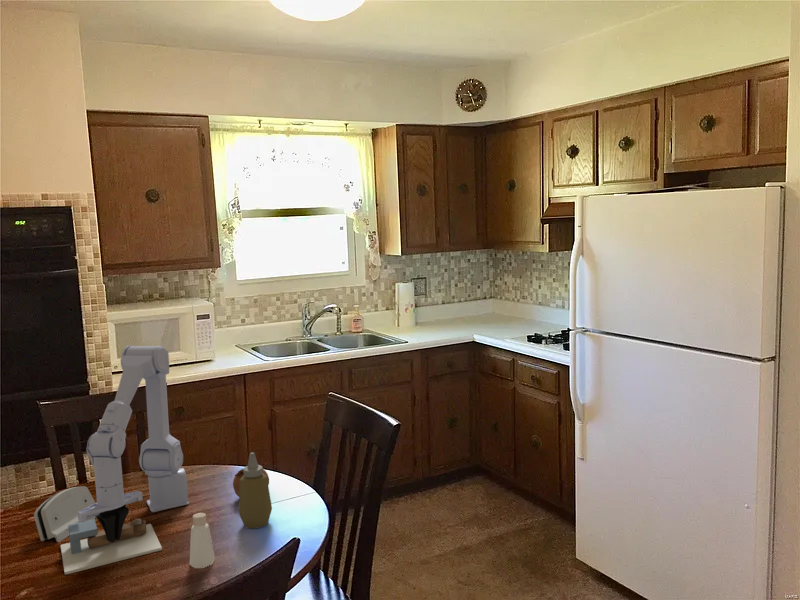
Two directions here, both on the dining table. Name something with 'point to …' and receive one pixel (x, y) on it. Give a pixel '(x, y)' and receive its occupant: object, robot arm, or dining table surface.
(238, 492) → the onion
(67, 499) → the white rounded block
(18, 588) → the dining table surface
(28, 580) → the dining table surface
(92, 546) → the link arm
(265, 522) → the squeeze bottle
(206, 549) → the pepper shaker
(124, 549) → the keeper board
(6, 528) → the dining table surface
